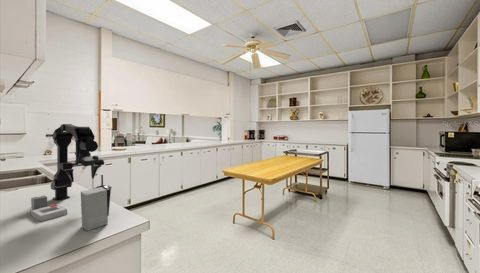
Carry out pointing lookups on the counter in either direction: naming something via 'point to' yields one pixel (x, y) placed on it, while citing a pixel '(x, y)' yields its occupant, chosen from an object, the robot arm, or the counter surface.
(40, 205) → the plug
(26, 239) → the counter surface
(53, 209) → the socket
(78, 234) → the counter surface
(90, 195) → the skincare box
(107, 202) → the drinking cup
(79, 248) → the counter surface
